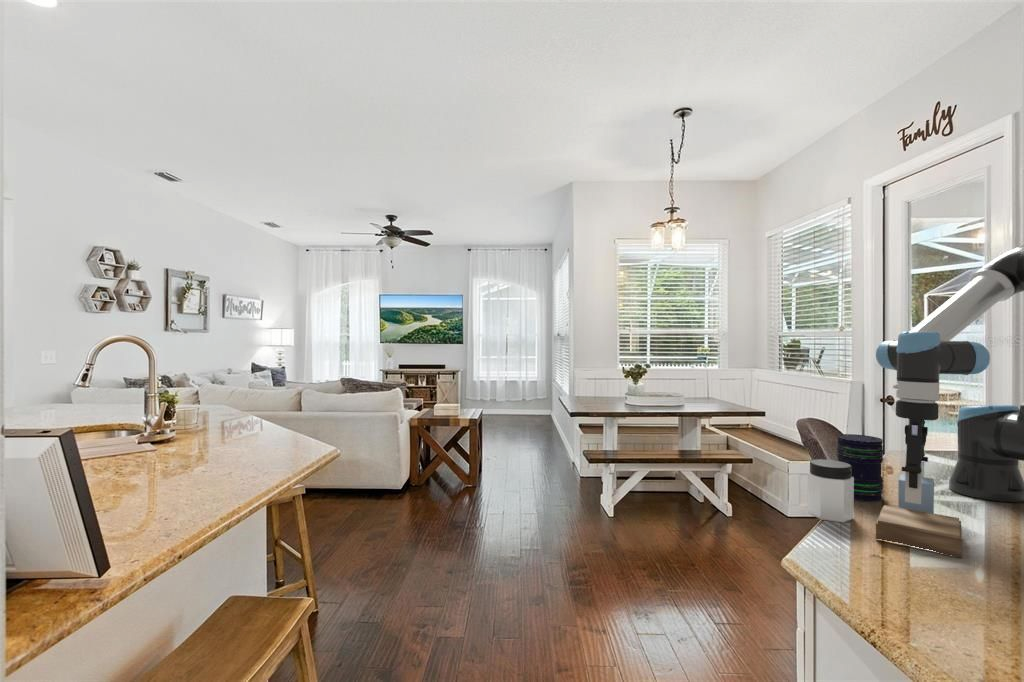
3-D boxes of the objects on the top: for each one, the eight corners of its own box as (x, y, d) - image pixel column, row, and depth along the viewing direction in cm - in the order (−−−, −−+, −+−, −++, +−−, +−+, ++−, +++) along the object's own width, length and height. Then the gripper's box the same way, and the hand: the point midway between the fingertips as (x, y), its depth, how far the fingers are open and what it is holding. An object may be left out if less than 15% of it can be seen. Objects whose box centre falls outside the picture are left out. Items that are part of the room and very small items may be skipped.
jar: (840, 525, 112) (840, 470, 112) (801, 514, 119) (801, 462, 118) (859, 517, 117) (859, 464, 117) (821, 507, 123) (821, 457, 123)
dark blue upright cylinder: (841, 499, 130) (841, 440, 130) (832, 488, 139) (832, 433, 139) (888, 504, 126) (889, 442, 126) (876, 492, 135) (876, 435, 135)
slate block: (900, 513, 120) (900, 474, 120) (933, 519, 116) (934, 478, 116) (898, 520, 115) (898, 479, 115) (932, 526, 111) (933, 484, 111)
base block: (882, 522, 113) (882, 504, 113) (960, 537, 105) (961, 517, 105) (875, 540, 103) (875, 520, 103) (961, 558, 95) (961, 536, 95)
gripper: (900, 395, 127) (898, 481, 127) (890, 403, 108) (888, 504, 108) (939, 397, 122) (937, 487, 122) (937, 407, 103) (934, 513, 103)
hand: (914, 495), depth 115 cm, fingers open, 13 cm apart
